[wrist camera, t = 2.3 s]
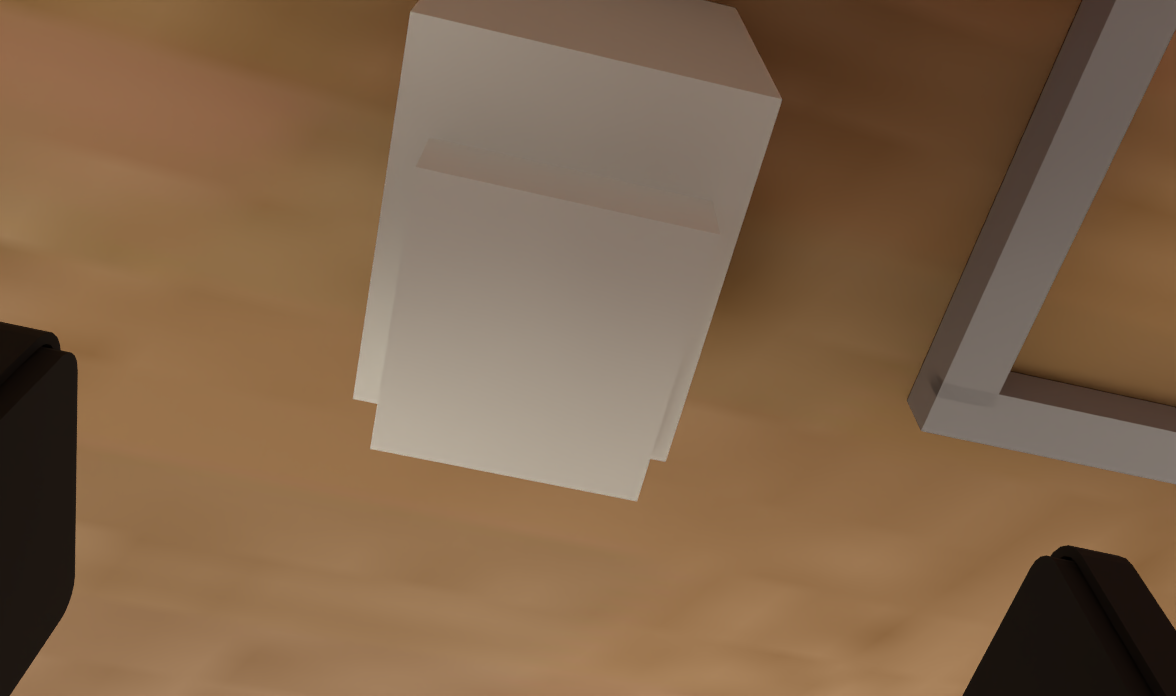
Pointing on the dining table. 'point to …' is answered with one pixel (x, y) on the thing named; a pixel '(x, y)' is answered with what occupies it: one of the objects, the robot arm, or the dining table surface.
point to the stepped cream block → (558, 231)
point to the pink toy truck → (1051, 264)
